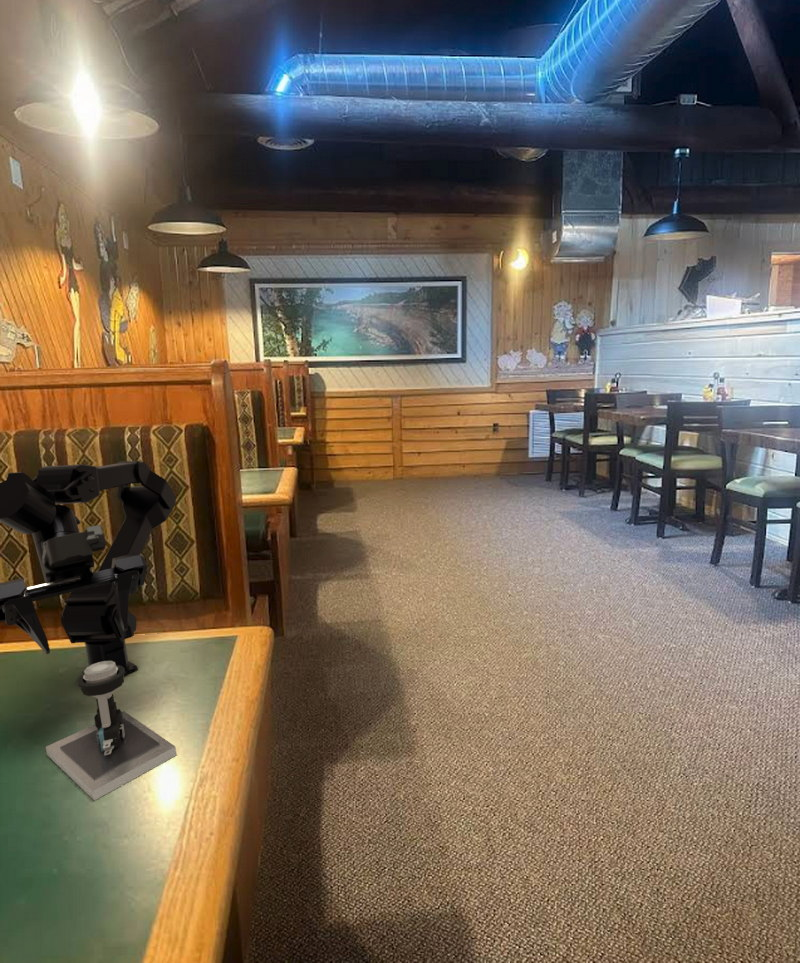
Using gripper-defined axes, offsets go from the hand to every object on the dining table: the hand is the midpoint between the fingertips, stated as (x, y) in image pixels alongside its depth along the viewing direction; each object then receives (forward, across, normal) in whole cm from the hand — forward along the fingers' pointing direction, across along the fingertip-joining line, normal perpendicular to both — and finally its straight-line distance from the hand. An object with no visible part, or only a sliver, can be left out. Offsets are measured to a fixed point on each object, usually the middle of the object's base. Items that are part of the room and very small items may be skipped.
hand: (88, 640), depth 78 cm
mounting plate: (+14, 0, +5) cm, 15 cm away
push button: (+13, 0, +4) cm, 13 cm away
